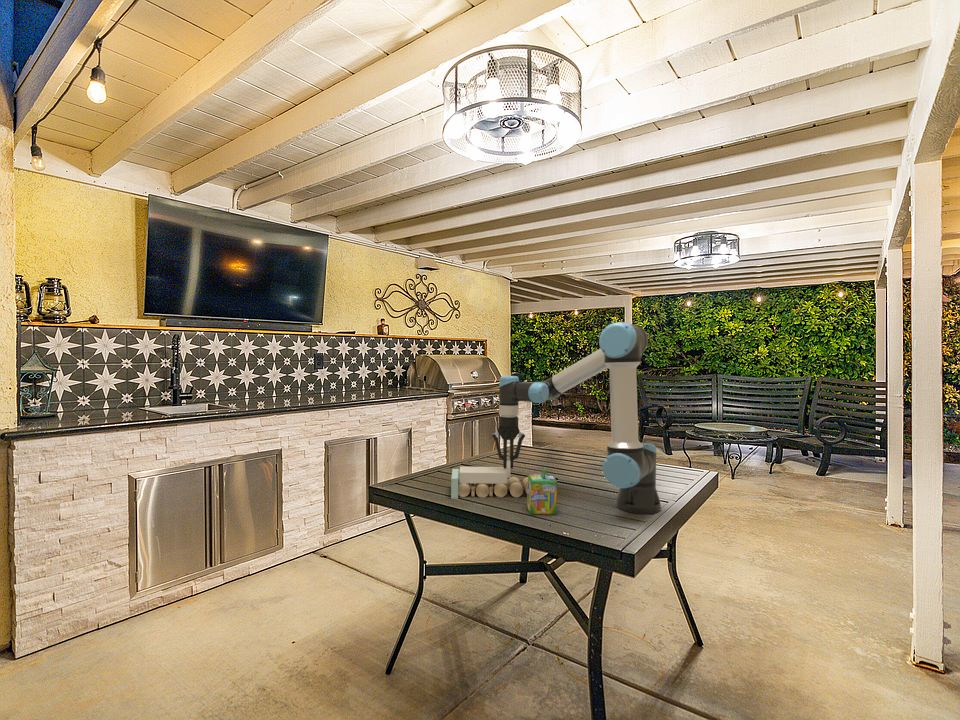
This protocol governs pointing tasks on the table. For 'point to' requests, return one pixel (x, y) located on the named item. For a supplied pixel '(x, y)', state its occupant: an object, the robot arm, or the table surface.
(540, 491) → the chalk box
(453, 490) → the board
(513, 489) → the roller bed
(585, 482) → the table surface
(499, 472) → the slab
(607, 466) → the robot arm
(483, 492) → the roller
